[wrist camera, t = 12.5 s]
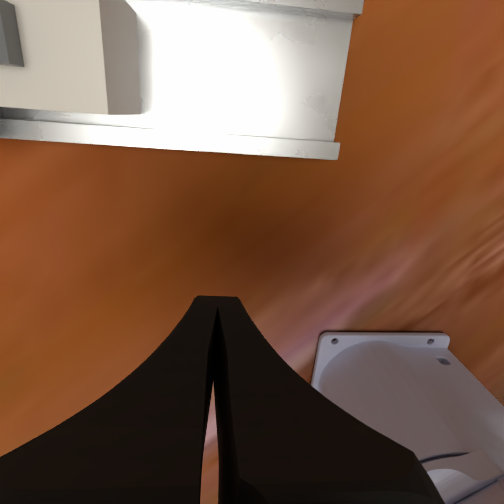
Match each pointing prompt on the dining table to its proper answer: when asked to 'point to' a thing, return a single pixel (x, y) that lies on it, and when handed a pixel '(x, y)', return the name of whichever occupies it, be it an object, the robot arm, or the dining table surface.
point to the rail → (222, 81)
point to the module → (69, 56)
